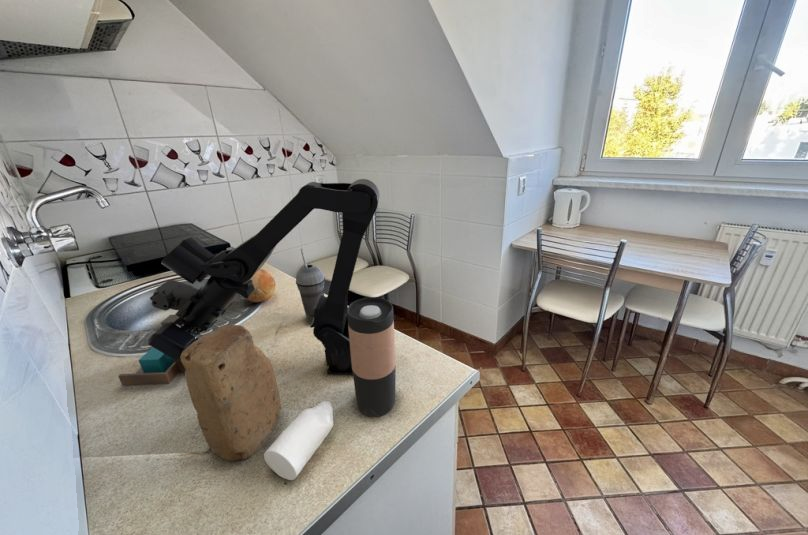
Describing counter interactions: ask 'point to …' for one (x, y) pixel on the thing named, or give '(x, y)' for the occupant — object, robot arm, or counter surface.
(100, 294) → the counter surface
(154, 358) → the cube
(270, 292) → the onion
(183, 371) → the brown angle bracket
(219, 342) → the porous brown stone
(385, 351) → the travel mug
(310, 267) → the beverage cup
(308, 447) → the white bottle
